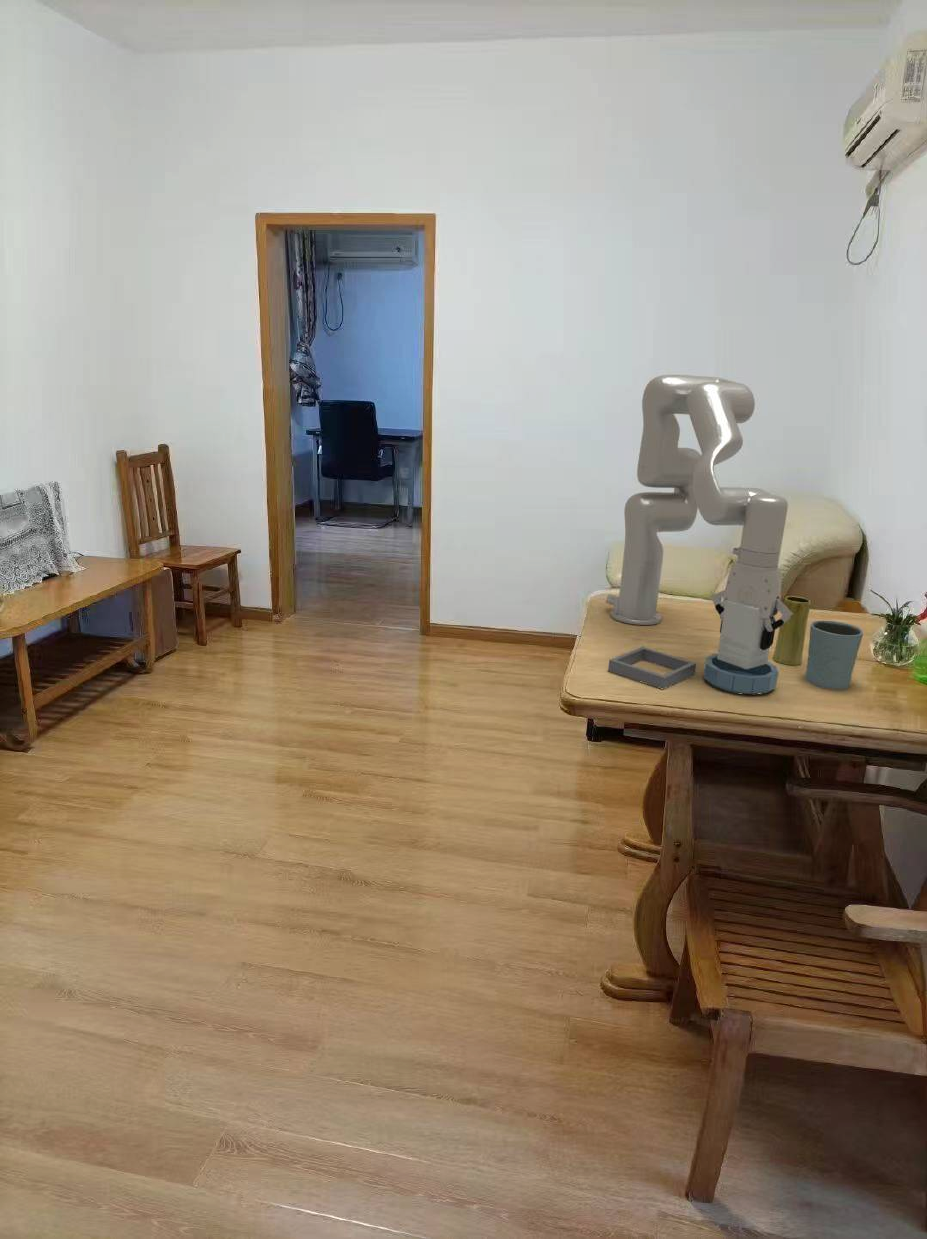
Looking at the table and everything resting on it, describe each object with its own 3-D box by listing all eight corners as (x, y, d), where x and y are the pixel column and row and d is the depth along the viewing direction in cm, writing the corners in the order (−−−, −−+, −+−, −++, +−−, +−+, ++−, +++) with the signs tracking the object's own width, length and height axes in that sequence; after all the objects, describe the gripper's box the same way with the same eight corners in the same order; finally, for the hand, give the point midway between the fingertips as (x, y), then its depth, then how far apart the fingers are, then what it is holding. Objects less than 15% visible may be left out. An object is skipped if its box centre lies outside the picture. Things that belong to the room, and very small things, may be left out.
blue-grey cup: (832, 694, 172) (843, 637, 169) (790, 677, 181) (800, 623, 177) (862, 686, 178) (874, 631, 174) (820, 669, 186) (830, 617, 182)
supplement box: (768, 664, 173) (778, 604, 169) (746, 670, 169) (756, 609, 165) (737, 653, 179) (746, 594, 175) (715, 659, 174) (724, 599, 171)
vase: (803, 667, 187) (815, 604, 183) (774, 663, 188) (785, 601, 184) (798, 657, 193) (810, 597, 188) (770, 654, 194) (781, 594, 189)
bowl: (690, 681, 175) (693, 663, 174) (722, 665, 185) (725, 648, 184) (756, 702, 166) (759, 683, 165) (785, 684, 176) (788, 666, 175)
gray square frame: (608, 671, 178) (609, 659, 177) (641, 657, 187) (642, 646, 186) (663, 689, 170) (664, 677, 169) (694, 674, 179) (696, 663, 178)
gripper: (708, 552, 170) (696, 635, 176) (794, 570, 159) (779, 658, 164) (726, 547, 176) (714, 628, 181) (810, 564, 165) (794, 650, 170)
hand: (745, 642), depth 173 cm, fingers closed on supplement box, 8 cm apart
